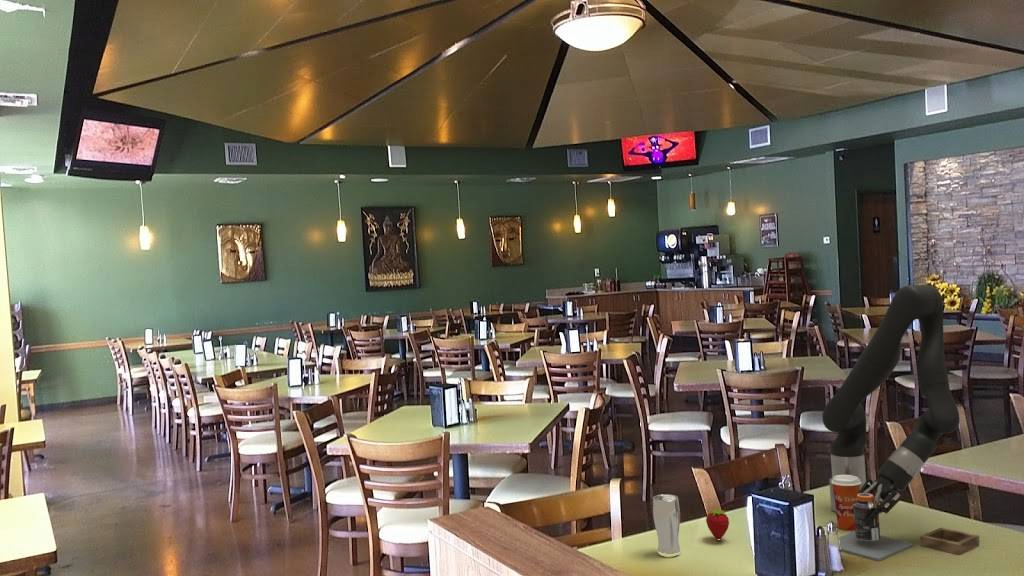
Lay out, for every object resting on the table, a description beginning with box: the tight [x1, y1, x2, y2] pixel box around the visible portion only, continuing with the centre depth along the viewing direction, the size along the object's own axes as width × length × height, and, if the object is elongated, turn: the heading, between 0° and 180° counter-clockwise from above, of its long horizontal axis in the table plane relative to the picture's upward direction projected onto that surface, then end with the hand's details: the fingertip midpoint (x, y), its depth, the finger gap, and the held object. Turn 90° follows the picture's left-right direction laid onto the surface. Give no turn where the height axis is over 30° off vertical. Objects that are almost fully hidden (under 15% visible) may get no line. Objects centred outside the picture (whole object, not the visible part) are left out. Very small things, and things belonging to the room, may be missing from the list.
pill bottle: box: [854, 493, 881, 541], centre depth 212 cm, size 6×6×11 cm
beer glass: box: [652, 493, 681, 554], centre depth 216 cm, size 7×7×15 cm
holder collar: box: [920, 527, 980, 556], centre depth 209 cm, size 10×10×2 cm
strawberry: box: [705, 503, 730, 540], centre depth 224 cm, size 6×8×10 cm
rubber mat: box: [839, 530, 915, 562], centre depth 212 cm, size 16×16×1 cm
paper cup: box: [831, 475, 861, 531], centre depth 228 cm, size 8×8×14 cm
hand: (860, 517), depth 212 cm, fingers closed on pill bottle, 6 cm apart
